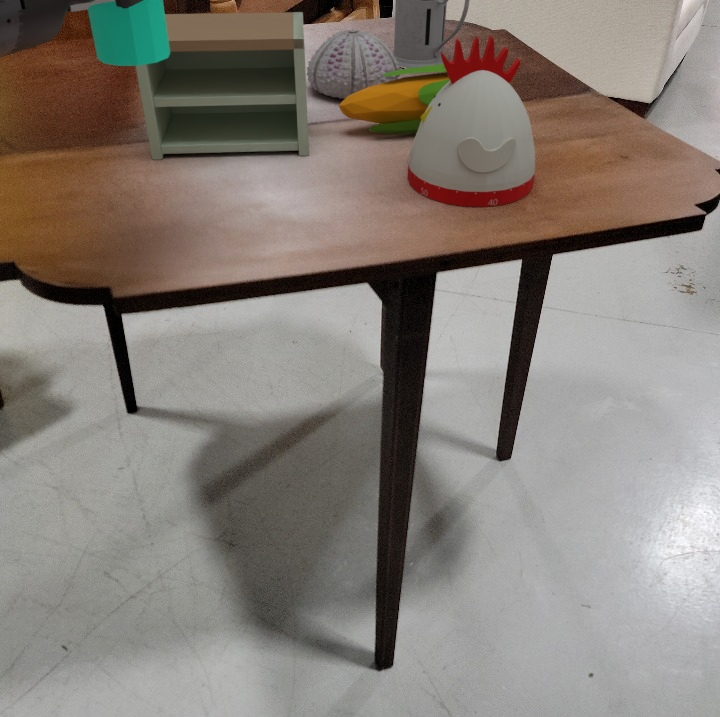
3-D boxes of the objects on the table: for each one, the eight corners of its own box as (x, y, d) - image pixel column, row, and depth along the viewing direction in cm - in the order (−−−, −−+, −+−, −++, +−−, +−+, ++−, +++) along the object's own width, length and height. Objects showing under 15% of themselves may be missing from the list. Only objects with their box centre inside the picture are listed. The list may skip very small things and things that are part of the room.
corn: (505, 67, 89) (346, 81, 84) (499, 130, 93) (348, 146, 89) (479, 55, 95) (330, 67, 90) (475, 115, 99) (333, 129, 95)
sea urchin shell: (348, 112, 99) (348, 50, 94) (287, 88, 107) (284, 29, 102) (417, 91, 106) (420, 32, 101) (356, 70, 114) (356, 15, 109)
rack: (152, 159, 86) (130, 40, 78) (165, 123, 95) (148, 14, 87) (309, 155, 87) (304, 38, 79) (307, 120, 96) (302, 11, 88)
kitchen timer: (400, 157, 87) (405, 21, 77) (514, 153, 88) (532, 18, 78) (418, 209, 76) (427, 58, 66) (548, 204, 77) (574, 54, 68)
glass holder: (419, 51, 122) (425, -50, 113) (481, 71, 114) (492, -37, 104) (379, 60, 118) (381, -44, 109) (440, 82, 109) (448, -30, 100)
